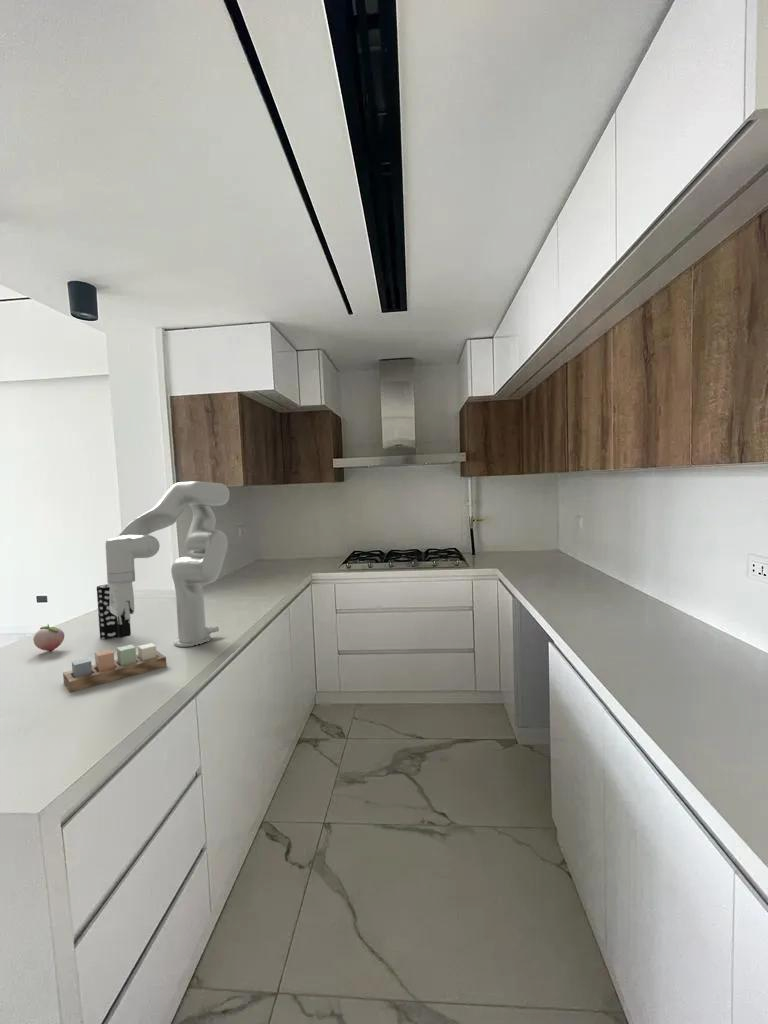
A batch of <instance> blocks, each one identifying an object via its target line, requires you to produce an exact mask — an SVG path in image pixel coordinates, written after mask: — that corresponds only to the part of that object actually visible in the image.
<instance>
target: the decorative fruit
mask: <svg viewBox="0 0 768 1024" xmlns="http://www.w3.org/2000/svg"><path fill="white" fill-rule="evenodd" d="M32 640H33V643H34V645H35V647H36V648H38V649H39V650H42V651H47V652H49V651H51V652H53V651H54V650H55V649H57V648H59V646H60V645H62V643H63V641H64V640H65V632H64V631H63V630H62V629H60V628H59V627H56V626H55V627H54V626H50V625H49V623H47V625H45V626H41V627H40V628H39V630H38V631H37V632H36V633H35V634H34V635H33V639H32Z"/></svg>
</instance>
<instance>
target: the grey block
mask: <svg viewBox="0 0 768 1024" xmlns="http://www.w3.org/2000/svg"><path fill="white" fill-rule="evenodd" d="M71 669H72V670H71V671H72V673H73V678H76V677H80V676H84V675H88V674H92V660H91V659H90V658H89V657H86V658H85V657H84V658H81V659H77V660H73V661H71Z"/></svg>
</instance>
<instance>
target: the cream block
mask: <svg viewBox="0 0 768 1024" xmlns="http://www.w3.org/2000/svg"><path fill="white" fill-rule="evenodd" d="M156 650H157V645H156V644H154V643H152V642H150V643H146V644H141V645H138V646H137V651H138V653H137V654H138V655H139V659H140V660H141V661H143V660H147V659H151V658H155V657H157V653H156Z"/></svg>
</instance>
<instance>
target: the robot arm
mask: <svg viewBox="0 0 768 1024" xmlns="http://www.w3.org/2000/svg"><path fill="white" fill-rule="evenodd" d="M229 500H230V490H229V487H228V486H226V485H225V484H224V483H220V482H207V481H180V482H176V483H174V484H173V485H171V486H170V488H168V489H167V491H166V492H165V493H164V495H163V496H162V497H161V498H160V499H159V501H158V502H157V503H156V504H155V506H153V507H152V508H151V509H150V510H148V511H146V512H144V513H143V514H142V515H140V516H138V517H137V518H134V519H133V520H132V521H130V522H129V523H128V524H127V525H126V526H125V527H124V528H123V529H122V530H121V531H120V533H118V535H117V537H111V538H107V540H106V541H105V562H106V575H107V576H106V579H107V584H110V612H111V613H112V614H114V615H115V616H117V623H118V624H117V626H118V636H119V637H118V638H126V637H129V636H131V634H132V633H131V615H133V614H134V613H135V596H134V586H133V582H134V583H135V582H136V571H135V560H136V559H149V558H152V557H154V556H155V555H156V554H158V552H159V551H160V547H161V546H160V545H161V543H160V542H159V540H158V538H157V537H155V536H153V535H150V534H152V533H154V532H157V531H160V530H163V529H166V528H169V527H170V526H173V525H175V523H176V522H177V520H178V519H179V518H180V516H181V515H182V514H183V512H184V511H185V510H186V509H187V507H190V509H191V512H192V520H191V524H190V527H189V529H188V533H187V535H186V538H185V542H184V550H185V551H186V553H188V554H189V555H195V556H182V557H178V558H177V559H175V560H174V561H173V563H172V565H171V569H170V570H171V571H170V572H171V578H172V581H173V586H174V590H175V600H176V601H175V602H176V603H175V604H176V616H177V617H176V618H177V620H176V621H177V633H178V634H177V636H178V637H177V638H175V639H174V640H173V644H174V646H176V647H181V648H183V647H185V648H186V647H195V646H194V645H196V646H199V645H198V644H200V645H203V644H202V643H204V642H206V643H208V642H209V641H210V640H211V639H210V638H212V637H211V634H213V633H218V632H219V630H220V629H219V628H220V627H219V626H214V627H213V626H210V627H209V626H207V625H206V612H205V610H206V609H205V593H204V590H203V587H202V585H201V584H211V583H214V582H216V580H217V579H218V578H219V577H220V576H219V575H220V573H221V571H222V568H223V564H224V561H225V557H226V554H227V551H228V538H227V535H226V533H225V532H223V531H222V530H219V529H215V527H216V523H217V519H216V515H215V513H214V512H213V511H214V510H212V508H211V506H213V507H215V506H216V507H219V506H220V507H221V506H224V505H225V504H227V503H228V502H229ZM208 640H209V641H208ZM207 641H208V642H207ZM204 644H205V643H204Z"/></svg>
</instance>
